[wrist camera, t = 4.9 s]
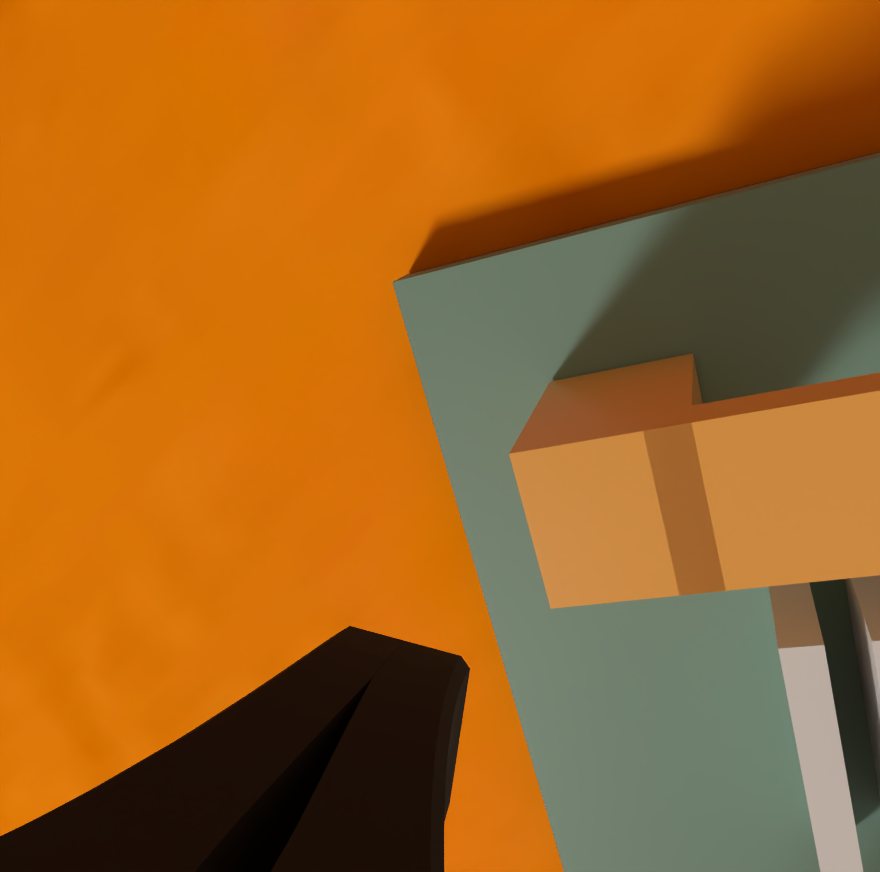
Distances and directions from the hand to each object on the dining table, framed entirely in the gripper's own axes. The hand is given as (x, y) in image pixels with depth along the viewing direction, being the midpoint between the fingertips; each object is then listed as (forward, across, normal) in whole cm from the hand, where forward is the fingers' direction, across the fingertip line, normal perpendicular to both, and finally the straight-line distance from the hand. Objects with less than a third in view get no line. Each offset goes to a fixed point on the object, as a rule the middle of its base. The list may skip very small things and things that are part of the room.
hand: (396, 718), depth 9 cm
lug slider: (+7, -3, -2) cm, 8 cm away
